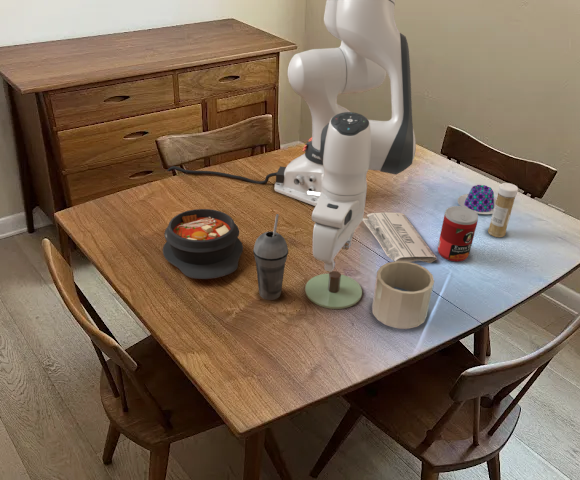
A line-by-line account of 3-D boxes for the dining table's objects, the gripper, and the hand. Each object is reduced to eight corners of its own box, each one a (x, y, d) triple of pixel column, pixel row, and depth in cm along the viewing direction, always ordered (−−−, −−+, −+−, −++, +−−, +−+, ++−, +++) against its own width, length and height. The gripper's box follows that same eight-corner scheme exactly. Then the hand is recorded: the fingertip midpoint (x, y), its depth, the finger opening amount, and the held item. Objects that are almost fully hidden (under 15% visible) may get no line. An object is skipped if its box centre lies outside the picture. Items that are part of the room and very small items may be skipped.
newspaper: (359, 220, 159) (361, 212, 158) (402, 221, 163) (404, 212, 161) (388, 267, 142) (391, 258, 140) (436, 267, 145) (438, 258, 143)
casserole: (156, 233, 150) (152, 203, 145) (230, 224, 155) (229, 194, 150) (172, 291, 131) (168, 259, 126) (255, 278, 136) (255, 247, 131)
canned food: (450, 265, 144) (459, 225, 137) (430, 248, 150) (438, 209, 143) (475, 258, 147) (485, 218, 140) (454, 242, 153) (463, 203, 146)
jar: (364, 320, 126) (369, 283, 120) (381, 291, 134) (387, 255, 129) (417, 336, 122) (425, 299, 117) (431, 306, 131) (439, 269, 125)
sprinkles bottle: (508, 235, 157) (522, 188, 148) (496, 239, 154) (509, 192, 146) (495, 227, 160) (508, 180, 151) (483, 231, 157) (495, 184, 149)
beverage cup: (252, 285, 134) (252, 205, 122) (285, 285, 135) (288, 205, 123) (253, 306, 128) (253, 223, 116) (287, 305, 129) (291, 223, 117)
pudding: (499, 220, 163) (503, 202, 160) (454, 211, 166) (458, 194, 162) (502, 200, 172) (506, 183, 169) (459, 192, 175) (463, 176, 172)
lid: (295, 301, 130) (296, 281, 127) (318, 272, 139) (319, 253, 136) (349, 317, 126) (352, 297, 123) (369, 286, 136) (371, 267, 133)
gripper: (346, 175, 128) (341, 232, 136) (308, 217, 112) (304, 278, 120) (374, 181, 126) (368, 239, 134) (339, 225, 110) (334, 287, 119)
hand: (337, 258), depth 127 cm, fingers open, 8 cm apart
